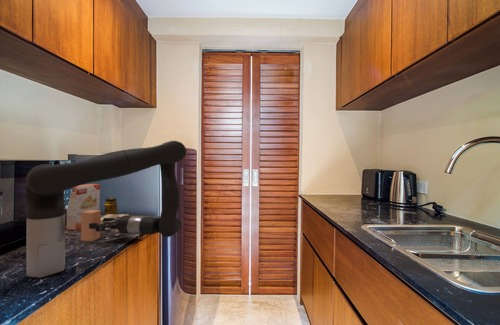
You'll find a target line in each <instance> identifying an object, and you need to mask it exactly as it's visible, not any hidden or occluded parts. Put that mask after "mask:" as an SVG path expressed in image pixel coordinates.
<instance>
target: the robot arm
mask: <svg viewBox="0 0 500 325" xmlns="http://www.w3.org/2000/svg"><path fill="white" fill-rule="evenodd" d="M186 155H187V148H186V146H185V145H184V143H182V142H180V141H177V140H170V141H166V142H163V143H162V144H158V145H155V146H149V147H141V148H140V147H139V148H129V149H123V150H117V151H112V152H111V151H110V152H107V153H104V154H103V153H102V154H100V155H97V156H94V157H92V158H91V157H90V158H88V159H85V160H82V161H78V162H76V161H75V162H69V163H64V164H63V163H60V164H50V163H48V164H47V163H44V164H39V165H36V166H33V167H32V168H31V169H30V170H29V171H28V172H27V174H26V179H25V196H26V197H25V201H26V204H25V211H26V276H28V277H30V278H38V279H40V278H44V277H48V276H51V275H53V274H57V273H60V272H62V271H65V268H66V204H65V203H66V202H65V191H67V189H70V188H73V187H76V186H79V185H86V184H91V183H93V182H94V183H95V182H99V181H105V180H111V179H114V178H115V179H116V178H120V177H123V176H128V175H132V174H134V173H138V172H141V171H144V170H146V169H147V170H148V169H150V168H151V167H154V166H158V165H159V168H160V175H161V176H160V177H161V196H162V197H161V213H160V215H159V216H160V217H151V216H141V215H129V214H126V215H124V216H122V217H116V218H103V223H90V224H89V229H96V231H97V232H101V233H111V232H110V231H111V230H116V229H117V230H118V231H119V232H118V233H120V234H125V235H126V234H127V235H155V234H161V235H162V237H164V238H170V237H172V236H174V235H175V234H177V233H179V231H181V229H182V222H181V220H180V219H179V218H178V217H177V213H178V212H179V209H180V189H179V185H178V181H177V178H176V163H178V162H181V161H182V160H183V159H184V158H185V157H186ZM128 215H129V216H128ZM107 223H108V225H106V224H107Z"/></svg>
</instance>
